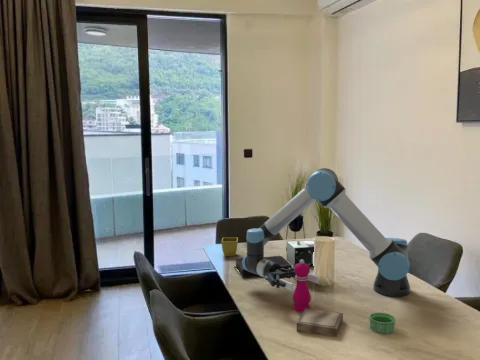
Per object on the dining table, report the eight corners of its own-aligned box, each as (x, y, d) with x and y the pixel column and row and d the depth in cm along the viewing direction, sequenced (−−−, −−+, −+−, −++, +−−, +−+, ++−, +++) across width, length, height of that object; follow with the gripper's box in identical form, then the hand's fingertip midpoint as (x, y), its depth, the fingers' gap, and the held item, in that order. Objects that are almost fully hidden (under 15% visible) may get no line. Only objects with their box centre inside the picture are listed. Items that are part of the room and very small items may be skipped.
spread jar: (298, 262, 245) (298, 240, 244) (318, 260, 247) (319, 239, 246) (306, 269, 233) (306, 246, 232) (327, 267, 236) (328, 245, 234)
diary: (292, 275, 227) (292, 265, 226) (242, 279, 221) (242, 269, 220) (279, 263, 245) (279, 254, 244) (233, 267, 239) (233, 257, 238)
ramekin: (380, 336, 159) (380, 324, 159) (363, 326, 168) (363, 314, 167) (400, 331, 163) (401, 319, 162) (383, 322, 171) (383, 310, 171)
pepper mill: (306, 313, 179) (306, 263, 176) (289, 309, 183) (289, 260, 180) (313, 307, 185) (314, 258, 182) (297, 303, 189) (297, 255, 186)
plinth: (342, 320, 172) (343, 312, 172) (336, 337, 159) (336, 328, 159) (305, 315, 177) (305, 307, 177) (296, 330, 164) (296, 322, 164)
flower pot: (237, 257, 254) (237, 241, 253) (221, 257, 255) (221, 241, 254) (237, 253, 263) (237, 237, 262) (222, 253, 263) (222, 237, 262)
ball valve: (314, 282, 214) (314, 244, 211) (296, 283, 212) (296, 245, 210) (301, 270, 231) (302, 235, 229) (285, 271, 230) (285, 236, 227)
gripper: (291, 272, 205) (327, 285, 189) (246, 284, 191) (281, 300, 174) (291, 256, 205) (327, 267, 188) (246, 267, 190) (281, 280, 173)
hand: (305, 283), depth 181 cm, fingers open, 13 cm apart
